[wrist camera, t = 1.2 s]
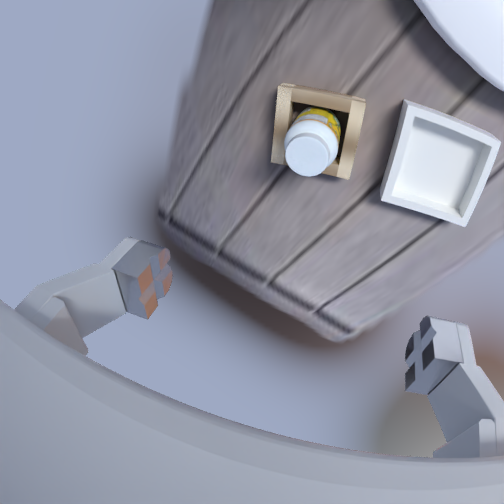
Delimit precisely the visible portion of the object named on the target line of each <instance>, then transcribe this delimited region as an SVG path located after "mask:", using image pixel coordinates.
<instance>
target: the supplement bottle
mask: <svg viewBox="0 0 504 504" xmlns="http://www.w3.org/2000/svg"><path fill="white" fill-rule="evenodd" d="M340 133H341V127H340V123H339V121H338V119H337V117H336V116H335V114H334V113H333V112H331V111H330V110H328V109H326V108H324V107H319V106H314V107H309V108H307V109H305V110H303V111H302V112H301V113H300V114H299V115H298V117H297V118H296V120H295V121H294V123H293V124H292V126H291V127H290V129H289V130H288V132H287V134H286V136H285V141H284V147H285V151H286V152H285V158H286V161H287V164H288V165H289V167H290V168H291V169H292V170H293V171H294V172H296V173H297V174H299V175H302V176H309V177H310V176H316V175H318V174H320V173H321V172H323V171H324V170H325V168H326V167H328V166H329V165H330V164H331V163H332V162H333V161H334V160H335V158H336V155H337V153H338V146H339V140H340Z"/></svg>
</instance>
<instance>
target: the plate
mask: <svg viewBox="0 0 504 504" xmlns="http://www.w3.org/2000/svg"><path fill="white" fill-rule="evenodd" d="M413 1H414V2H415V3H416V5H417V6H418V7H419V9H420V10H421V11H422V13H423V14H424V16H425V17H426V18H427V20H428V21H429V23H430V24H431V26H432V27H433V28H434V29H435V30H436V31H437V33H438V34H439V35H440V36H441V37H442V38H443V39H444V41H445V42H446V43H447V44H448V45H449V46H450V47H451V48H452V49H453V50H454V51H455V52H456V53H458V54H459V55H460V56H461V57H462V58H463V59H464V60H465V61H466V62H467V63H468V64H469V65H470V66H471V67H472V68H473V69H474V70H475V71H476V72H477V73H478V74H479V75H480V76H482V77H483V78H485V79H486V80H487V81H489V82H490V83H491V84H492V85H494V86H495V87H496V88H498V89H500V90H502V91H504V0H413Z"/></svg>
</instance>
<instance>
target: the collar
mask: <svg viewBox="0 0 504 504" xmlns="http://www.w3.org/2000/svg"><path fill="white" fill-rule="evenodd" d="M294 102H298V103H304V104H309V105H315V106H320V107H325V108H329V109H334V110H338V111H343V112H347V113H349V116H348V121H347V126H346V131H345V136H344V141H343V146H342V151H341V156H340V157H337V156H336V158H335V160H334V161H333V162H332V163H331V164H330V165H329V166H328V167H326V168H325V170H324V171H323V172H321V173H323V174H327V175H331V176H336V177H340V178H344V179H348V180H349V178H350V174H351V169H352V165H353V161H354V157H355V153H356V148H357V144H358V139H359V135H360V130H361V126H362V121H363V116H364V111H365V106H366V101H365V99H362V98H358V97H354V96H350V95H345V94H341V93H336V92H332V91H327V90H322V89H316V88H311V87H305V86H299V85H293V84H287V83H282V84H281V85H279V86H278V93H277V104H276V114H275V125H274V135H273V145H272V155H271V162H272V163H277V164H282V165H287V166H289V165H288V164H287V161H286V158H285V152H286V151H285V147H284V141H285V136H286V134H287V132H288V130H289V129H290V127H291V124H292V116H293V107H294Z"/></svg>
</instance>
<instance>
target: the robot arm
mask: <svg viewBox="0 0 504 504" xmlns="http://www.w3.org/2000/svg"><path fill="white" fill-rule="evenodd" d="M170 259H171V258H170V251H169V250H168V249H167V248H165V247H161V246H158V245H155V244H152V243H148V242H145V241H142V240H138V239H135V238H132V237H128V238H125V239H124V240H123V241H122V242H121V243H120V244H119V245H118V246H117V247H116V248H115V249H114V250H113V251H112V252H111V253H109V254H108V255H107V257H105V258H104V259H103V260H102V262H100V263H99V264H92V265H90V266H87V267H84V268H81V269H79V270H76V271H73V272H71V273H68V274H65V275H63V276H60V277H58V278H55V279H52V280H50V281H47V282H45V283H42V284H40V285H37V286H36V287H35V288H34V289H33V290H32V291H31V292H30V293H29V294H28V295H27V296H26V298H25V299H24V300H23V301H22V302H21V303H20V304H19V305H18V306H17V307H16V308H15V310H13V309H12V308H11V307H10V306H8V305H7V304H6V303H4V302H3V301H2V300H0V504H504V402H503V400H502V399H501V397H500V395H499V394H498V392H497V391H496V389H495V388H494V386H493V385H492V384H491V382H490V380H489V379H488V378H487V376H486V375H485V373H484V372H483V370H482V369H481V367H480V366H476V361H475V356H474V350H473V345H472V340H471V336H470V332H469V327H468V326H467V324H464V323H460V322H455V321H449V320H445V319H440V318H435V317H431V316H426V317H424V318H423V320H422V321H421V322H420V330H418V331H416V332H414V333H413V334H412V337H411V338H410V339H409V342H408V344H407V347H406V353H405V362H406V363H407V365H408V366H409V369H408V371H407V372H406V373H405V391H408V392H413V393H419V394H424V395H428V396H427V397H428V399H429V402H430V404H431V406H432V408H433V410H434V412H435V415H436V417H437V420H438V422H439V424H440V426H441V429H442V431H443V434H444V436H445V438H446V441H447V443H446V444H444V445H443V446H441V447H439V448H438V449H437V450H435V451H434V452H433V458H430V457H411V456H399V455H388V454H379V453H371V452H364V451H357V450H350V449H344V448H338V447H333V446H327V445H322V444H317V443H313V442H308V441H303V440H299V439H295V438H291V437H286V436H283V435H278V434H275V433H271V432H267V431H264V430H261V429H257V428H254V427H250V426H247V425H244V424H241V423H237V422H234V421H231V420H228V419H225V418H222V417H219V416H216V415H214V414H211V413H208V412H205V411H203V410H200V409H197V408H195V407H192V406H189V405H187V404H184V403H182V402H179V401H177V400H174V399H172V398H169V397H167V396H165V395H163V394H160V393H158V392H156V391H153V390H151V389H149V388H147V387H145V386H142V385H140V384H138V383H136V382H134V381H132V380H130V379H128V378H125V377H124V376H122V375H120V374H118V373H116V372H114V371H112V370H110V369H108V368H106V367H104V366H102V365H101V364H99V363H97V362H95V361H93V360H91V359H90V358H88V357H86V355H87V353H88V348H87V346H86V344H85V343H84V341H83V339H82V338H83V337H85V336H87V335H89V334H90V333H92V332H94V331H96V330H97V329H99V328H101V327H103V326H104V325H106V324H108V323H109V322H111V321H113V320H115V319H117V318H118V317H120V316H122V315H124V314H126V312H129V313H131V314H134V315H137V316H139V317H142V318H145V319H149V317H150V316H151V314H152V313H153V312H154V310H155V309H156V308H157V306H158V302H157V299H159V298H161V297H164V296H165V295H166V293H167V292H168V291H169V288H170V286H171V283H172V276H173V274H172V269H171V268H170V266H169V265H168V261H169V260H170Z"/></svg>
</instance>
